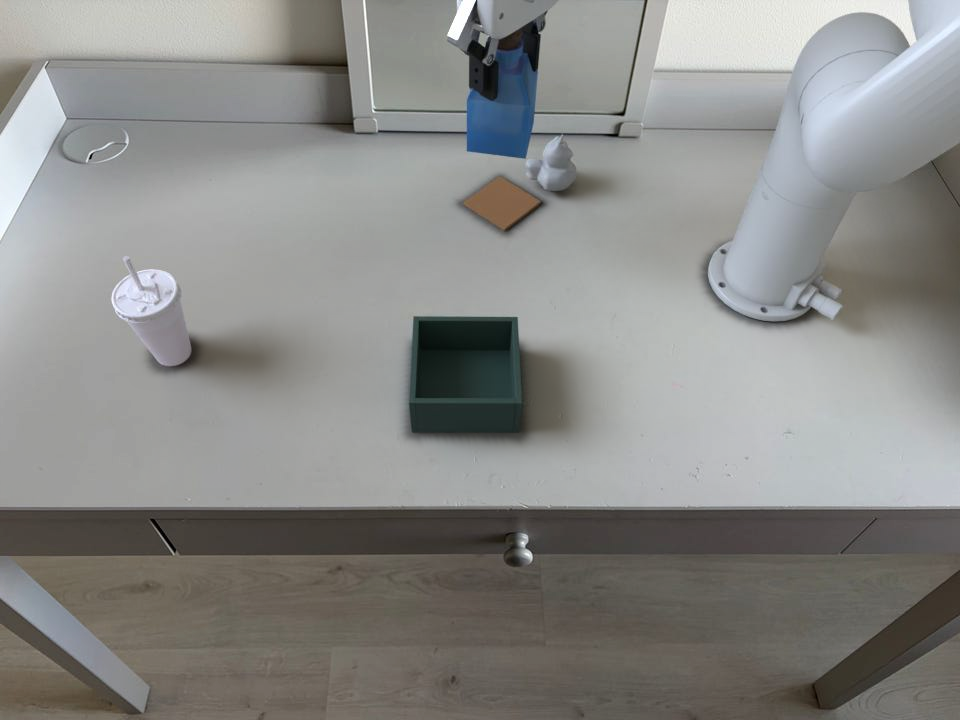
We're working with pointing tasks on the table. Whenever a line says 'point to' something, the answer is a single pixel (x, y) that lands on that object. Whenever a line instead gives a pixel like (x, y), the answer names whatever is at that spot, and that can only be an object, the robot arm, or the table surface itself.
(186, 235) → the table surface
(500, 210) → the mat
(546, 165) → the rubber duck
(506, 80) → the perfume bottle
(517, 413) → the bin
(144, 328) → the smoothie
